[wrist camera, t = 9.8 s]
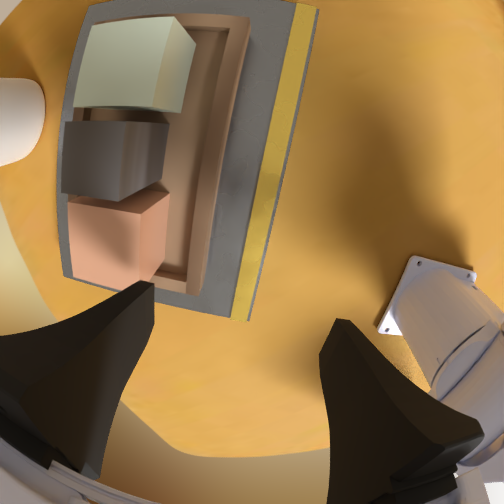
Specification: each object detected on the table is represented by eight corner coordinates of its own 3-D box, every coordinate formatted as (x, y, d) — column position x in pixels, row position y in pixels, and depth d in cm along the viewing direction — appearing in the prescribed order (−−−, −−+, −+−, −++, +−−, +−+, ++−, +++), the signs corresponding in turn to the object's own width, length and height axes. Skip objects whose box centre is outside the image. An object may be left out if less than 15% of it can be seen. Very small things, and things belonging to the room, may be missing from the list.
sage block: (196, 44, 11) (174, 16, 7) (180, 113, 12) (152, 106, 9) (129, 45, 11) (92, 25, 7) (114, 109, 12) (72, 107, 9)
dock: (312, 23, 13) (320, 8, 11) (250, 302, 22) (249, 322, 20) (104, 14, 12) (87, 5, 10) (78, 263, 21) (62, 277, 19)
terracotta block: (170, 193, 14) (141, 214, 11) (164, 258, 16) (139, 295, 12) (107, 184, 14) (67, 202, 10) (107, 246, 16) (73, 277, 12)
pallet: (251, 35, 12) (245, -24, 6) (206, 273, 18) (181, 345, 12) (116, 33, 12) (52, 2, 5) (92, 248, 18) (35, 298, 12)
